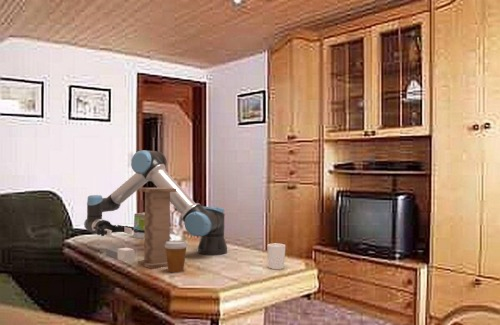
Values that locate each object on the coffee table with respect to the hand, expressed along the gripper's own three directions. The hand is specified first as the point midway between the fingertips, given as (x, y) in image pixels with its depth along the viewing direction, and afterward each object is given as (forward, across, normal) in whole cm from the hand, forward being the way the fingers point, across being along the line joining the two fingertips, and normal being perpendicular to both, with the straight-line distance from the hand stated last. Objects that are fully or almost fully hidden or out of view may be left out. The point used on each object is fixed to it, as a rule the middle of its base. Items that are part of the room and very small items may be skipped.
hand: (121, 232), depth 217 cm
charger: (-1, 0, -12) cm, 12 cm away
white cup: (+60, -44, -12) cm, 76 cm away
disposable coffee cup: (+38, -7, -12) cm, 41 cm away
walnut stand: (+24, -6, -12) cm, 27 cm away
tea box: (-49, -40, -12) cm, 64 cm away
